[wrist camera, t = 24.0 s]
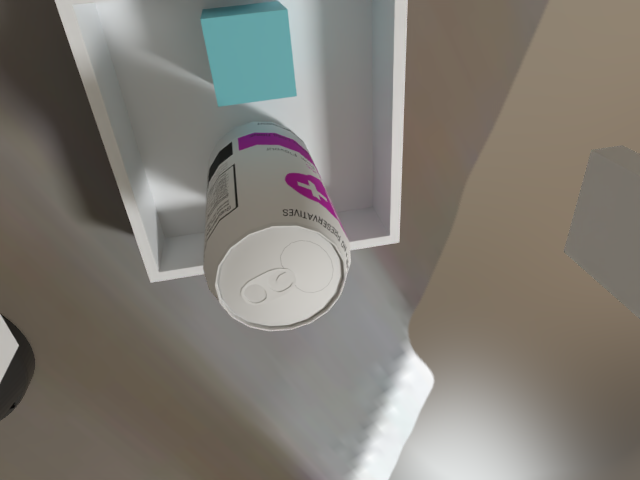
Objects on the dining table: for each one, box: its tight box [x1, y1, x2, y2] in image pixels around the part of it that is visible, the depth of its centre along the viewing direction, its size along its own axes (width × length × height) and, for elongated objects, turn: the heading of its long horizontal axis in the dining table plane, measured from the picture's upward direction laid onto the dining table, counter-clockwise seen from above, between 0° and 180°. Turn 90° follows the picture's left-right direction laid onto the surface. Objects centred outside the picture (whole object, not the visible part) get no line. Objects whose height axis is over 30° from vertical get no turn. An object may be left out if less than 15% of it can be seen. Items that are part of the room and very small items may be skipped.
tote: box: [55, 0, 408, 282], centre depth 33 cm, size 20×20×6 cm
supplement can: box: [203, 122, 351, 331], centre depth 31 cm, size 8×8×15 cm
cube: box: [200, 1, 297, 107], centre depth 30 cm, size 5×5×5 cm
